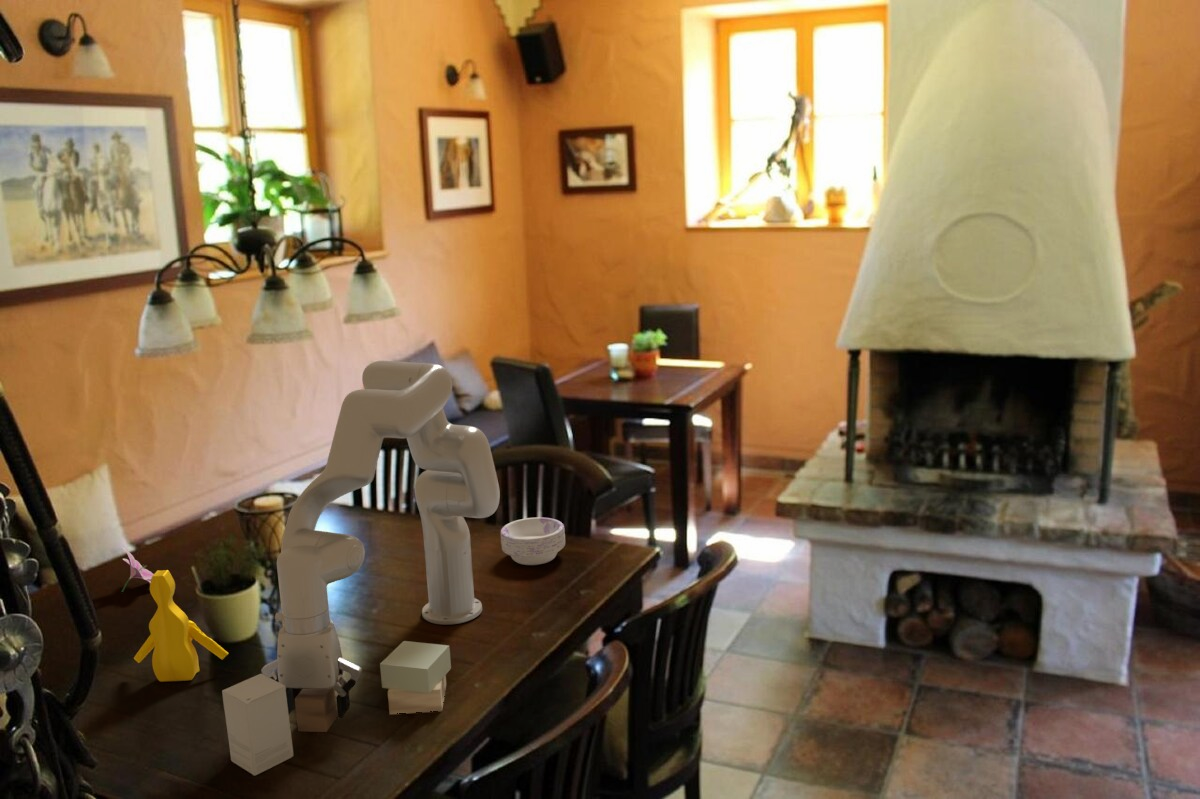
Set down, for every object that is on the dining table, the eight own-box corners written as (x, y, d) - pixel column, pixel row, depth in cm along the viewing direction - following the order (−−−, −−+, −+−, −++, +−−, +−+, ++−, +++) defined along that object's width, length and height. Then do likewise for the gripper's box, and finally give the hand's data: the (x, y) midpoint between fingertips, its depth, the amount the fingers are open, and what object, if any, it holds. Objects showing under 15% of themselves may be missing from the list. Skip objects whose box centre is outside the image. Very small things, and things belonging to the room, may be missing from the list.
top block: (405, 663, 190) (403, 640, 189) (451, 668, 187) (449, 645, 186) (382, 687, 181) (379, 664, 180) (429, 693, 179) (427, 669, 178)
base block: (396, 690, 189) (394, 668, 188) (446, 687, 190) (444, 664, 189) (389, 716, 181) (387, 692, 180) (442, 713, 181) (440, 689, 180)
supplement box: (295, 756, 169) (287, 685, 166) (253, 777, 163) (244, 704, 160) (270, 741, 173) (262, 671, 171) (229, 761, 168) (220, 689, 165)
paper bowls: (489, 559, 250) (487, 527, 248) (538, 542, 260) (537, 512, 258) (529, 576, 239) (527, 543, 237) (579, 557, 248) (577, 526, 247)
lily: (141, 607, 232) (158, 566, 233) (92, 587, 232) (109, 547, 233) (162, 601, 244) (178, 562, 245) (115, 583, 244) (131, 544, 245)
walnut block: (309, 715, 181) (306, 684, 180) (337, 716, 181) (333, 685, 179) (298, 731, 176) (294, 699, 175) (326, 732, 176) (323, 699, 174)
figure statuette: (233, 665, 201) (220, 557, 196) (220, 685, 193) (205, 573, 188) (141, 669, 201) (125, 561, 196) (123, 689, 193) (106, 578, 188)
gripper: (247, 628, 171) (258, 723, 175) (348, 630, 169) (357, 726, 173) (266, 609, 179) (276, 701, 182) (364, 611, 177) (372, 703, 180)
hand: (316, 713), depth 178 cm, fingers open, 9 cm apart
